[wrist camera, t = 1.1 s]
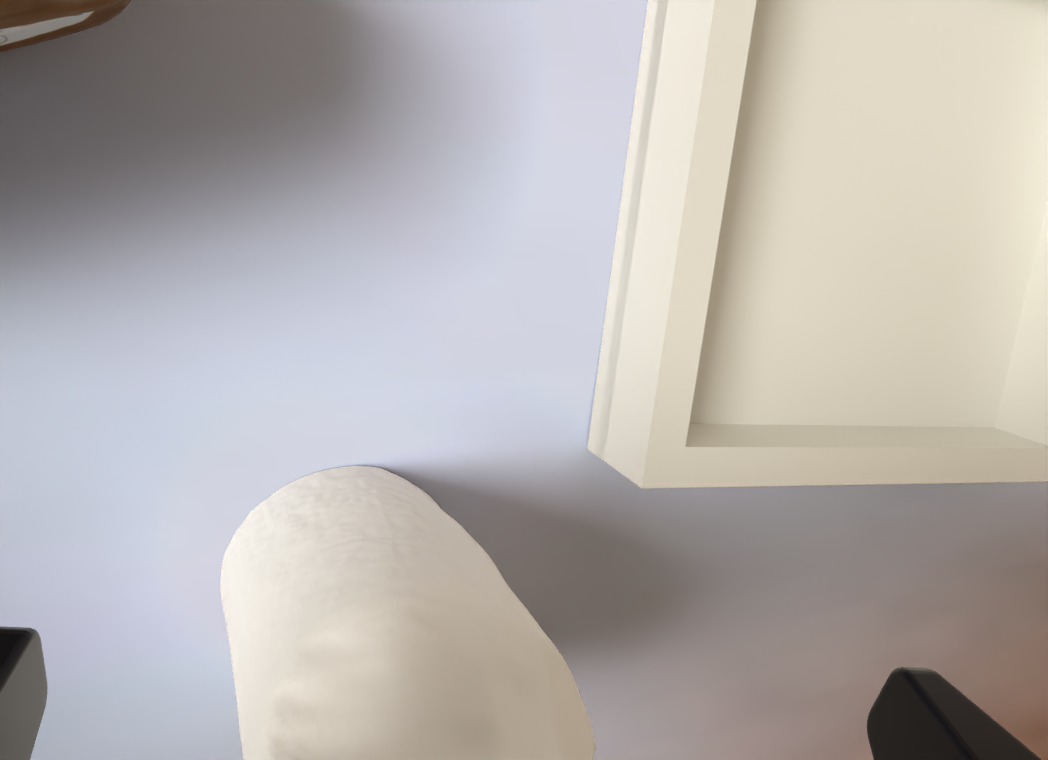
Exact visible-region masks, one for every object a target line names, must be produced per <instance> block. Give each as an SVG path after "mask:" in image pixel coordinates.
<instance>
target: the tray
mask: <svg viewBox="0 0 1048 760" xmlns="http://www.w3.org/2000/svg"><path fill="white" fill-rule="evenodd" d="M587 449H588V450H590V451H591V452H592V453H594V454H595V455H596V456H598V457H599V458H601V459H602V460H603V461H605V462H606V463H607V464H609V465H610V466H612V467H613V468H614V469H616V470H617V471H618V472H620V473H621V474H622V475H624V476H625V477H627V478H628V479H629V480H631V481H632V482H633V483H635V484H636V485H638V486H639V487H640V488H694V487H754V486H814V485H873V484H933V483H992V482H1048V0H648V3H647V10H646V18H645V25H644V33H643V40H642V47H641V55H640V62H639V69H638V77H637V84H636V92H635V99H634V106H633V114H632V121H631V128H630V136H629V143H628V151H627V158H626V165H625V173H624V180H623V188H622V195H621V202H620V210H619V217H618V224H617V232H616V239H615V247H614V254H613V261H612V269H611V276H610V283H609V291H608V298H607V306H606V313H605V320H604V328H603V335H602V343H601V350H600V357H599V365H598V372H597V379H596V387H595V394H594V402H593V409H592V416H591V424H590V431H589V438H588V446H587Z"/></svg>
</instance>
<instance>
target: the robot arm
mask: <svg viewBox="0 0 1048 760" xmlns="http://www.w3.org/2000/svg"><path fill="white" fill-rule="evenodd" d="M46 699H47V679H46V672H45V665H44V658H43V651H42V644H41V639H40V636H39V634H38V632H37V631H36V630H35V629H31V628H22V627H0V760H30V757H31V754H32V750H33V747H34V744H35V740H36V737H37V733H38V730H39V727H40V723H41V720H42V716H43V713H44V709H45V705H46ZM867 733H868V739H869V743H870V747H871V750H872V754H873V758H874V760H1041V759H1040V758H1039V757H1038V756H1036V755H1035V754H1034V753H1033V752H1032V751H1030V750H1029V749H1028V748H1027V747H1026V746H1024V745H1023V744H1022V743H1021V742H1020V741H1018V740H1017V739H1016V738H1015V737H1014V736H1012V735H1011V734H1010V733H1009V732H1008V731H1006V730H1005V729H1004V728H1003V727H1002V726H1000V725H999V724H998V723H997V722H996V721H994V720H993V719H992V718H991V717H990V716H989V715H987V714H986V713H985V712H984V711H983V710H981V709H980V708H979V707H978V706H977V705H975V704H974V703H973V702H972V701H971V700H969V699H968V698H967V697H966V696H965V695H963V694H962V693H961V692H960V691H959V690H957V689H956V688H955V687H954V686H953V685H951V684H950V683H949V682H948V681H947V680H945V679H944V678H943V677H942V676H941V675H939V674H938V673H937V672H935V671H933V670H930V669H926V668H908V667H901V668H897V669H895V670H894V671H892V672H891V674H890V675H889V677H888V679H887V681H886V682H885V684H884V686H883V688H882V690H881V692H880V694H879V695H878V697H877V699H876V701H875V703H874V705H873V707H872V708H871V710H870V713H869V715H868V720H867Z"/></svg>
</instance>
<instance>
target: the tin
mask: <svg viewBox="0 0 1048 760" xmlns="http://www.w3.org/2000/svg"><path fill="white" fill-rule="evenodd" d="M130 1H131V0H0V52H3V51H7V50H11V49H15V48H19V47H23V46H27V45H31V44H35V43H39V42H43V41H46V40H50V39H54V38H58V37H61V36H65V35H68V34H72V33H75V32H79V31H82V30H85V29H88V28H91V27H94V26H97V25H100V24H102V23H104V22H107V21H109V20H111V19H112V18H114V17H115V16H116V15H118V14H119V13H121V12H122V10H123V9H124V8H125V7H126V6H127V5H128V4H129V2H130Z"/></svg>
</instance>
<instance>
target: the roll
mask: <svg viewBox="0 0 1048 760" xmlns="http://www.w3.org/2000/svg"><path fill="white" fill-rule="evenodd" d="M220 593H221V599H222V604H223V609H224V615H225V620H226V626H227V633H228V638H229V642H230V650H231V658H232V669H233V676H234V681H235V690H236V698H237V704H238V718H239V728H240V737H241V743H242V749H243V760H593V757H594V753H595V750H596V745H595V741H594V736H593V732H592V727H591V723H590V720H589V717H588V714H587V711H586V709H585V706H584V703H583V701H582V699H581V697H580V694H579V692H578V689H577V686H576V683H575V681H574V678H573V676H572V674H571V672H570V670H569V667H568V665H567V664H566V662H565V660H564V659H563V657H562V655H561V654H560V652H559V651H558V650H557V648H556V647H555V646H554V644H553V643H552V641H551V640H550V639H549V638H548V636H547V635H546V634H545V633H544V631H543V630H542V629H541V627H540V626H539V625H538V623H537V622H536V621H535V619H534V618H533V617H532V615H531V614H530V613H529V611H528V610H527V609H526V608H525V606H524V605H523V604H522V603H521V602H520V600H519V599H518V598H517V597H516V595H515V594H514V593H513V591H512V590H511V589H510V588H509V587H508V585H507V583H506V582H505V580H504V579H503V577H502V575H501V574H500V572H499V570H498V569H497V567H496V565H495V564H494V562H493V561H492V560H491V558H490V557H489V555H488V554H487V553H486V552H485V550H484V549H483V548H482V547H481V546H480V545H479V544H478V543H477V542H476V541H475V540H474V539H473V538H472V537H471V536H470V535H469V534H468V533H467V532H466V531H465V530H464V529H463V527H462V526H461V525H460V524H459V523H458V522H457V521H455V520H454V519H453V518H452V517H450V516H449V515H448V514H447V513H445V512H444V511H443V510H442V509H441V508H440V507H439V506H438V504H437V503H436V502H435V501H434V500H433V499H432V498H431V497H430V496H429V495H428V494H426V493H425V492H424V491H423V490H421V489H420V488H418V487H417V486H415V485H413V484H412V483H410V482H409V481H407V480H406V479H404V478H402V477H400V476H398V475H396V474H393V473H391V472H388V471H387V470H384V469H382V468H378V467H371V466H358V465H356V466H346V467H338V468H333V469H328V470H322V471H319V472H314V473H312V474H309V475H307V476H304V477H301V478H299V479H297V480H295V481H293V482H290V483H288V484H287V485H285V486H284V487H282V488H280V489H278V490H277V491H275V492H274V493H273V494H272V495H271V496H270V497H268V498H267V499H265V500H263V501H262V502H261V503H260V504H259V505H258V506H257V507H256V508H254V509H253V510H252V511H251V512H250V513H249V514H248V516H247V517H246V519H245V520H244V522H243V523H242V525H241V526H240V527H239V529H238V530H237V531H236V533H235V534H234V536H233V538H232V540H231V542H230V544H229V546H228V548H227V550H226V551H225V554H224V559H223V563H222V571H221V583H220Z"/></svg>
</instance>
